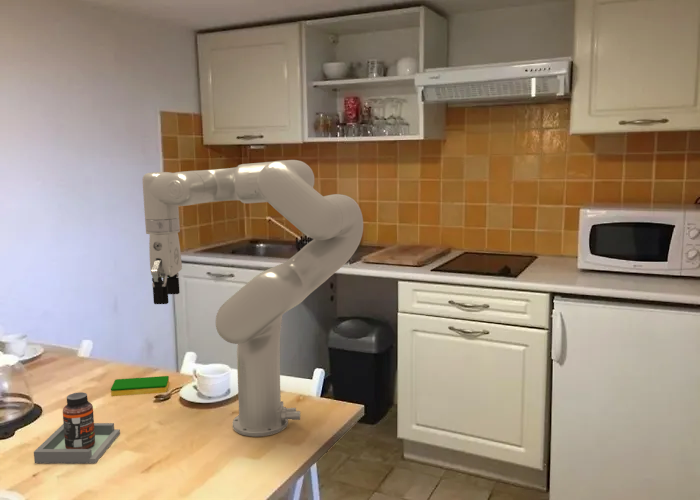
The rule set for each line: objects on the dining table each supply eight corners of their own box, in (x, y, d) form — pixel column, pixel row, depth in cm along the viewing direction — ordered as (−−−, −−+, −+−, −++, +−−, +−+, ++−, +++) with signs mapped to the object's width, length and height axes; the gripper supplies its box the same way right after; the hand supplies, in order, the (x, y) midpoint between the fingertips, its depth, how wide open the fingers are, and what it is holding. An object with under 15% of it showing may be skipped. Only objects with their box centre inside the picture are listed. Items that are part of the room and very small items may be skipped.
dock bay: (120, 433, 142) (119, 423, 141) (95, 463, 128) (94, 451, 128) (64, 433, 142) (63, 423, 141) (34, 463, 128) (33, 451, 128)
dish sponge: (115, 387, 170) (115, 378, 169) (169, 383, 172) (168, 375, 172) (111, 398, 163) (110, 389, 163) (166, 394, 165) (166, 385, 165)
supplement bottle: (84, 453, 132) (80, 402, 130) (59, 451, 133) (54, 400, 131) (101, 440, 138) (97, 391, 136) (76, 438, 139) (72, 389, 137)
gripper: (168, 230, 137) (173, 307, 140) (188, 221, 154) (191, 290, 157) (134, 231, 137) (139, 308, 140) (157, 222, 154) (161, 290, 157)
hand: (167, 298), depth 148 cm, fingers open, 9 cm apart
